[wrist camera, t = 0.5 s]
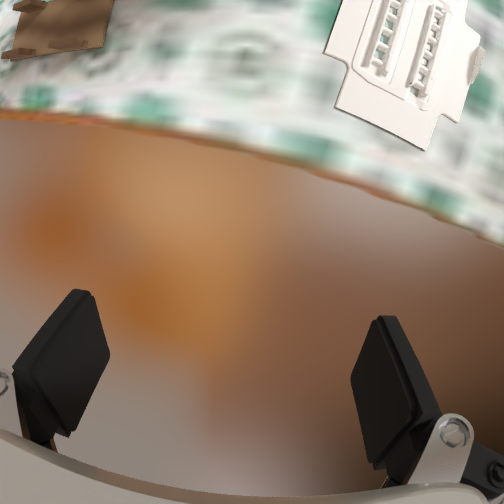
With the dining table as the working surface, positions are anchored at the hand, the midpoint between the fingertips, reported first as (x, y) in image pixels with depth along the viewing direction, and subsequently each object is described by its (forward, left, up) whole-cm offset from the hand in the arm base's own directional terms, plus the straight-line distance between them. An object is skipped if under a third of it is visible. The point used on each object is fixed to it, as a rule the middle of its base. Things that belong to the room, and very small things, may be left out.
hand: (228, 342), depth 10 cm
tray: (-22, +16, -31) cm, 41 cm away
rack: (-18, -32, -30) cm, 47 cm away
